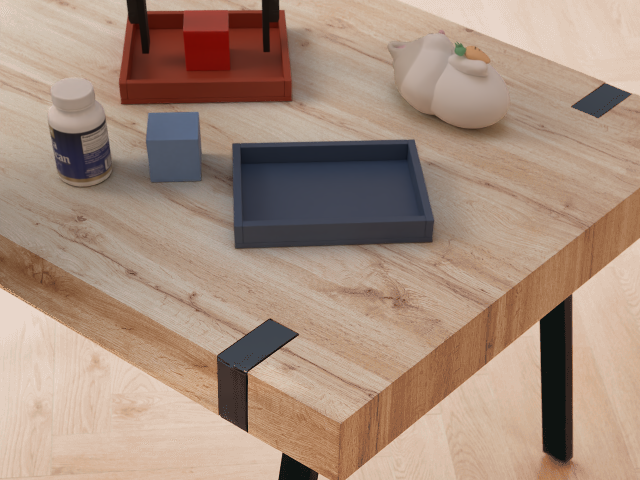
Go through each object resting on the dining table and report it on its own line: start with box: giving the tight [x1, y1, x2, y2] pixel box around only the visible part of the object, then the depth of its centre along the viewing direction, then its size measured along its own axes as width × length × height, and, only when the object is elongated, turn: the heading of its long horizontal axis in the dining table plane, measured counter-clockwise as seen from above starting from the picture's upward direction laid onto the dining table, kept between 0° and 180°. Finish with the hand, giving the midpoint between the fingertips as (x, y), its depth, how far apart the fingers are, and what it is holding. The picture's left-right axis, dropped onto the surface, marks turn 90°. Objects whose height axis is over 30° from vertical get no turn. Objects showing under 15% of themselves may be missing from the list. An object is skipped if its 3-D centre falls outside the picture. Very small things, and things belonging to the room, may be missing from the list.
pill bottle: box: [47, 76, 113, 188], centre depth 104 cm, size 5×5×10 cm
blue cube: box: [145, 111, 203, 183], centre depth 107 cm, size 5×5×5 cm
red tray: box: [118, 9, 293, 105], centre depth 124 cm, size 19×17×3 cm
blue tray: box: [231, 138, 435, 249], centre depth 105 cm, size 19×14×3 cm
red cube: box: [183, 9, 230, 71], centre depth 123 cm, size 5×5×5 cm
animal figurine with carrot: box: [386, 29, 511, 130], centre depth 116 cm, size 10×8×15 cm
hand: (206, 47), depth 123 cm, fingers open, 13 cm apart
